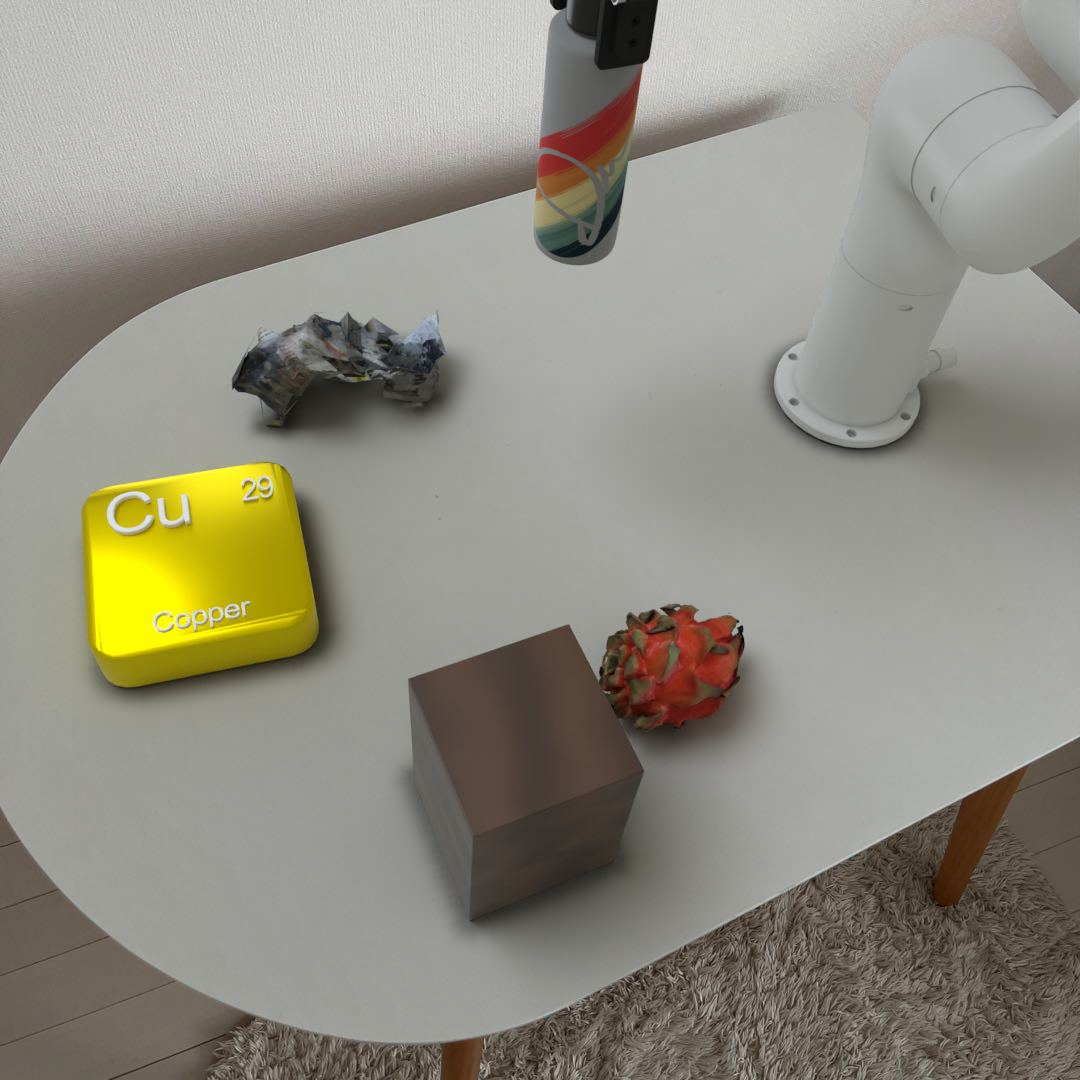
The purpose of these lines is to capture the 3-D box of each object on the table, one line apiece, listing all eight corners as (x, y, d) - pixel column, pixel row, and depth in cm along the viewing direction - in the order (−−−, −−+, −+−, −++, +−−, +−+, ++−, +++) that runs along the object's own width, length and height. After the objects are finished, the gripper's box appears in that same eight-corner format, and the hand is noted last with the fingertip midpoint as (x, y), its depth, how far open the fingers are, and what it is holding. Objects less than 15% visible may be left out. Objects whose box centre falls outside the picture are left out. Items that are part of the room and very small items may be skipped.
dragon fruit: (576, 729, 78) (710, 674, 84) (647, 777, 71) (788, 713, 77) (561, 619, 76) (700, 570, 81) (633, 657, 69) (780, 600, 74)
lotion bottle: (551, 275, 73) (580, -27, 57) (520, 222, 76) (539, -79, 60) (629, 258, 75) (679, -41, 59) (595, 206, 78) (634, -91, 62)
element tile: (103, 695, 76) (85, 660, 72) (94, 524, 84) (77, 484, 80) (324, 652, 79) (317, 616, 75) (293, 490, 87) (286, 451, 83)
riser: (551, 730, 77) (569, 623, 65) (614, 861, 71) (644, 770, 60) (413, 780, 74) (407, 678, 62) (468, 921, 69) (472, 837, 57)
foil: (440, 430, 88) (270, 332, 81) (375, 485, 95) (214, 400, 89) (469, 324, 94) (312, 225, 88) (405, 384, 102) (257, 298, 95)
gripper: (812, -289, 46) (724, 107, 60) (636, -420, 55) (597, -48, 69) (648, -277, 44) (598, 130, 58) (494, -414, 53) (484, -32, 67)
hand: (598, 30), depth 64 cm, fingers closed on lotion bottle, 5 cm apart
